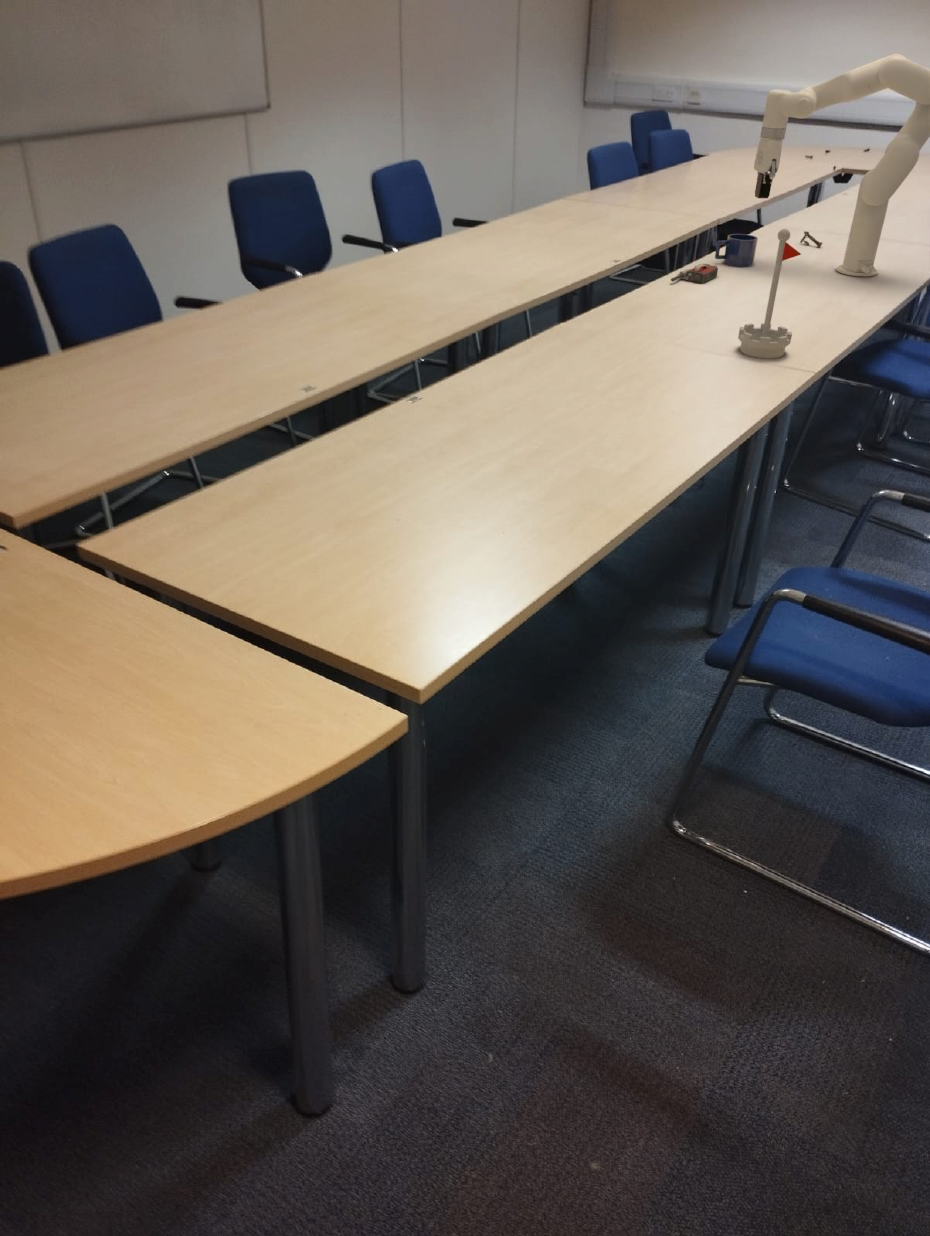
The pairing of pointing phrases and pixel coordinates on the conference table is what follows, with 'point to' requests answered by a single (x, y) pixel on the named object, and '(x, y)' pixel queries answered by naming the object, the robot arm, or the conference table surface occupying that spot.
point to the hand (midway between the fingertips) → (761, 194)
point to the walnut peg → (759, 185)
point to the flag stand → (769, 315)
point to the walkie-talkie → (698, 273)
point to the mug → (738, 250)
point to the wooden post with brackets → (810, 239)
